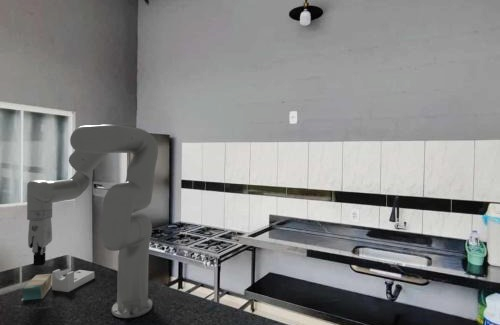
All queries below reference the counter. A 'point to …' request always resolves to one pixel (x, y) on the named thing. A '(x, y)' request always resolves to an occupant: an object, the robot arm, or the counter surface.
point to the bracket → (70, 279)
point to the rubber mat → (46, 290)
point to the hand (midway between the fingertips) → (39, 264)
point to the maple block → (37, 287)
